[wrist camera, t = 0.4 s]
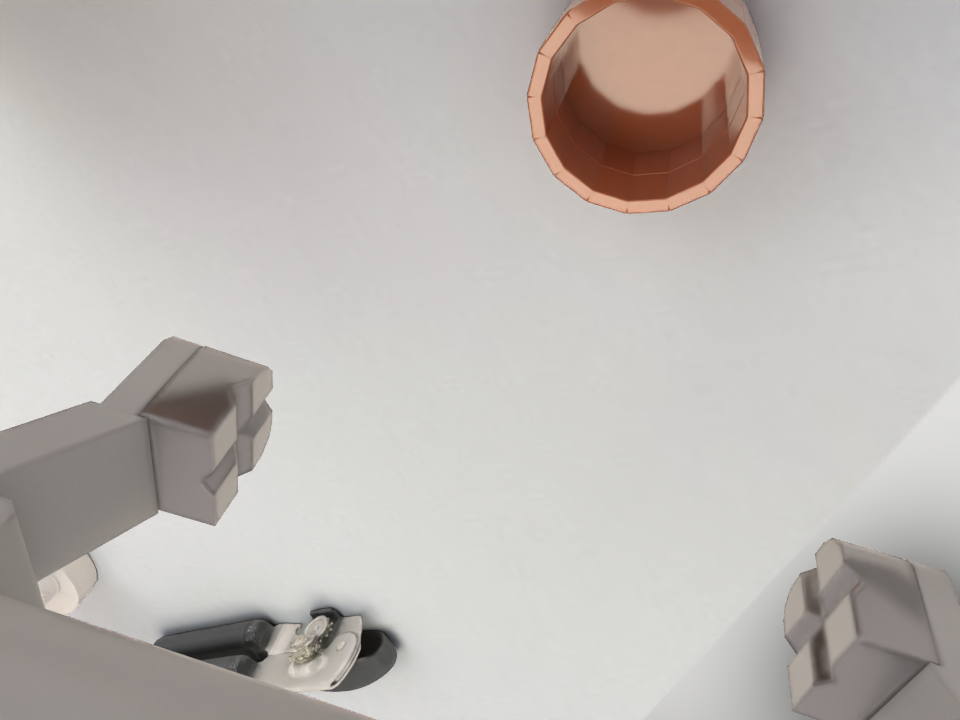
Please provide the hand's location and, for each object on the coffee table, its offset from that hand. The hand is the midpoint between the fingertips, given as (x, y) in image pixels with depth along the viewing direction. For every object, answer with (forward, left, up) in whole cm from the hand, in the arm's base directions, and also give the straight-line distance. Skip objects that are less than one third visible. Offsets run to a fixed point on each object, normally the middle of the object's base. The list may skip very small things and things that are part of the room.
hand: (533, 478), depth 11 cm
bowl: (-1, +1, -19) cm, 19 cm away
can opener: (+34, -26, -19) cm, 47 cm away
